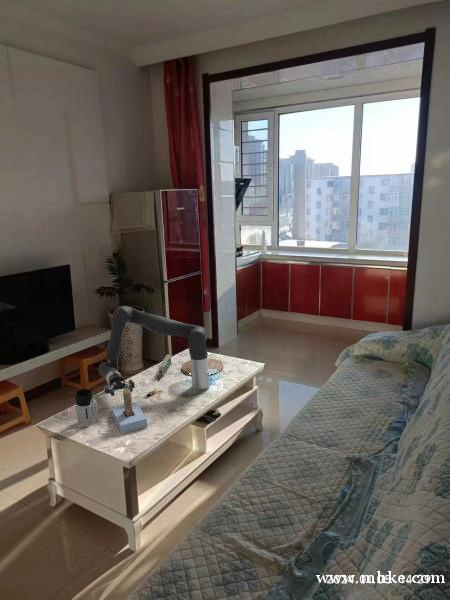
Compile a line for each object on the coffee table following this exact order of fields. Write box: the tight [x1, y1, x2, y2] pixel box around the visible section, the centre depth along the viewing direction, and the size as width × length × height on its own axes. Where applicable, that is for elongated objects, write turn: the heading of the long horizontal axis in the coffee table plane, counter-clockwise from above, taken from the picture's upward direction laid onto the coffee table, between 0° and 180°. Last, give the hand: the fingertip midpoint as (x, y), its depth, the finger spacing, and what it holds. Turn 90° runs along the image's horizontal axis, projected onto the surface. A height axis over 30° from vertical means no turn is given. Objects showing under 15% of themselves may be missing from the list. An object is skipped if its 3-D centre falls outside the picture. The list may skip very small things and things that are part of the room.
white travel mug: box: [74, 388, 98, 428], centre depth 199 cm, size 9×14×15 cm, turn 50°
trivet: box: [181, 357, 224, 375], centre depth 260 cm, size 25×25×2 cm
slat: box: [122, 389, 133, 417], centre depth 200 cm, size 2×4×14 cm, turn 27°
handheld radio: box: [157, 354, 172, 381], centre depth 256 cm, size 7×3×25 cm
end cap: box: [111, 402, 148, 434], centre depth 202 cm, size 12×18×4 cm, turn 26°
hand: (122, 392), depth 208 cm, fingers open, 8 cm apart
